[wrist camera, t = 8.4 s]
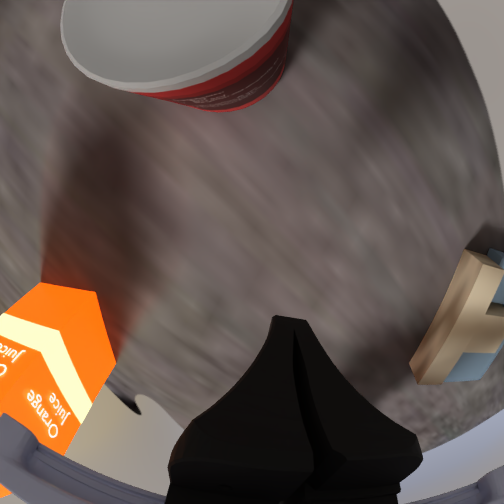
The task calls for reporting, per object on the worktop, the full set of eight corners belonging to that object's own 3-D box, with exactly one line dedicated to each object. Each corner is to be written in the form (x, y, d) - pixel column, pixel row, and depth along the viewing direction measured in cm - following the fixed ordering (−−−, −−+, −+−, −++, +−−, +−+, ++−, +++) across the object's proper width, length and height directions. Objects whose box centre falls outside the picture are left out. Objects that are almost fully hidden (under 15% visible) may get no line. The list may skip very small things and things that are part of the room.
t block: (463, 364, 23) (474, 382, 20) (408, 362, 23) (417, 384, 21) (516, 265, 19) (533, 279, 16) (463, 248, 19) (482, 264, 16)
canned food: (190, -1, 14) (119, -87, 3) (304, 30, 14) (331, -69, 4) (147, 94, 16) (29, 75, 6) (258, 130, 17) (234, 124, 7)
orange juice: (63, 348, 27) (-25, 475, 8) (39, 281, 23) (-88, 410, 5) (118, 363, 26) (34, 523, 8) (97, 291, 23) (-42, 468, 5)
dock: (472, 368, 24) (479, 379, 22) (428, 368, 24) (435, 382, 22) (528, 261, 18) (540, 270, 16) (489, 247, 18) (502, 257, 16)
